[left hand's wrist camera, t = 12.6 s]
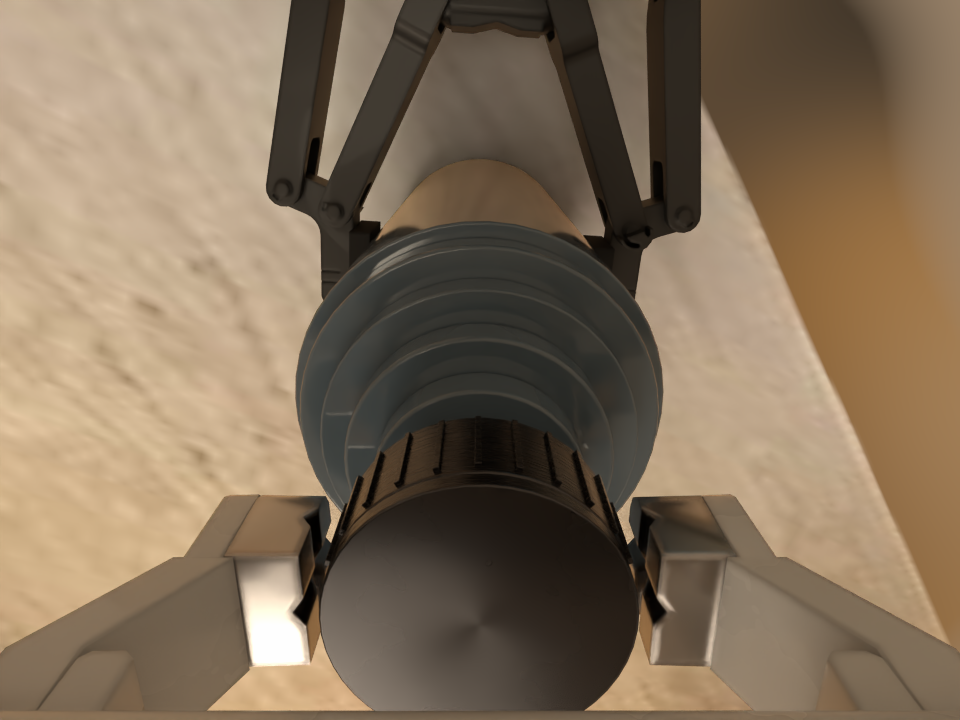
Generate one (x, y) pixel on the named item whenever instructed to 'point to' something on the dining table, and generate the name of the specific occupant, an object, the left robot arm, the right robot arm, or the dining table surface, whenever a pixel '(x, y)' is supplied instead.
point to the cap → (479, 575)
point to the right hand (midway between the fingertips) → (472, 391)
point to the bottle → (479, 334)
